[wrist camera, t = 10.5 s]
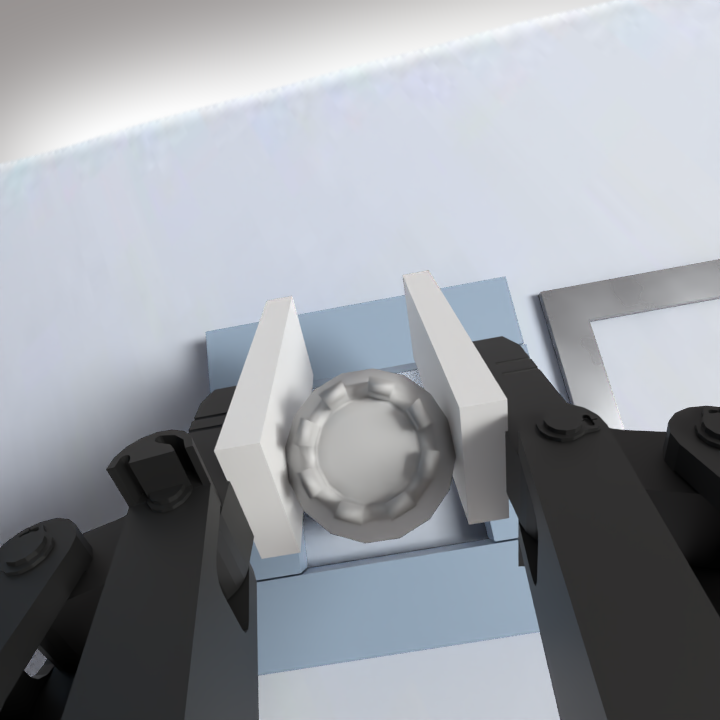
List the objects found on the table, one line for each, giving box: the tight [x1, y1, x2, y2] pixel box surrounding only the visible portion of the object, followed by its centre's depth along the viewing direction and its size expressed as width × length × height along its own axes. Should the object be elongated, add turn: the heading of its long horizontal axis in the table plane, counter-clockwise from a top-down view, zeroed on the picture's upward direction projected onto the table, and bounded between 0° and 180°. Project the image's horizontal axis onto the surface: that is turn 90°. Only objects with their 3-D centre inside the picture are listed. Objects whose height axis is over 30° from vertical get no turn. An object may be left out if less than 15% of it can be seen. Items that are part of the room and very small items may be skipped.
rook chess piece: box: [285, 368, 456, 543], centre depth 11 cm, size 4×4×8 cm
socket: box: [206, 277, 540, 676], centre depth 16 cm, size 12×12×1 cm
